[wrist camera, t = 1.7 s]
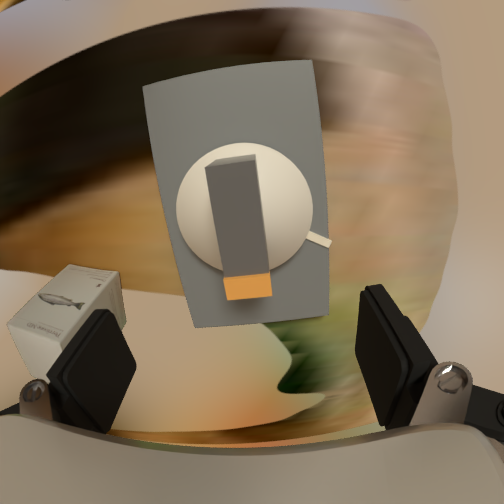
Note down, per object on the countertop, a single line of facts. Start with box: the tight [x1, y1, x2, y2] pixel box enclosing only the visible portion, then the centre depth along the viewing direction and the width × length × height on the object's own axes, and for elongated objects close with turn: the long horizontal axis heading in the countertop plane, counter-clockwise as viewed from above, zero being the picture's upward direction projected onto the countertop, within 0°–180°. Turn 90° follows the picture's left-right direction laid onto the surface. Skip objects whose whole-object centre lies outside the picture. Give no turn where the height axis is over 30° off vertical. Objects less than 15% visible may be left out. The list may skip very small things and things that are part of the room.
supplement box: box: [7, 264, 126, 383], centre depth 24 cm, size 7×7×13 cm
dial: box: [176, 143, 313, 300], centre depth 21 cm, size 11×11×7 cm
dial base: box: [143, 60, 332, 328], centre depth 25 cm, size 24×14×2 cm, turn 7°
